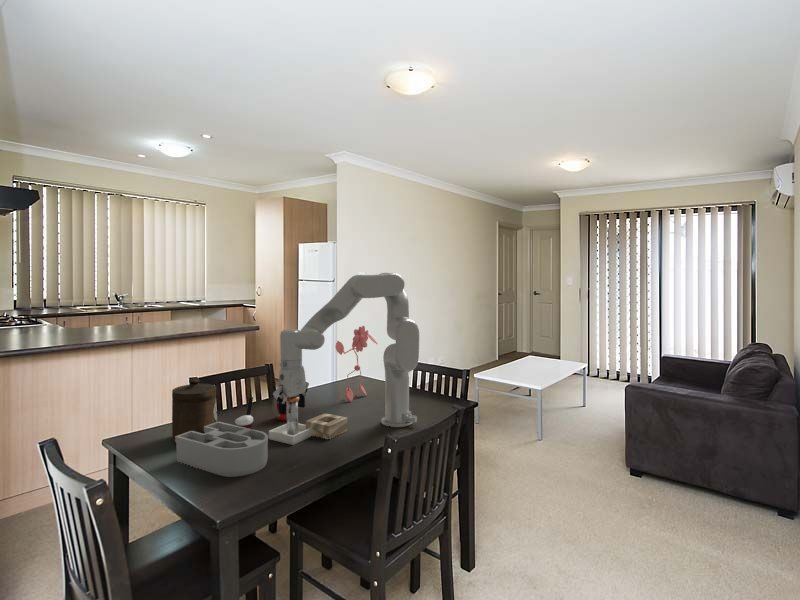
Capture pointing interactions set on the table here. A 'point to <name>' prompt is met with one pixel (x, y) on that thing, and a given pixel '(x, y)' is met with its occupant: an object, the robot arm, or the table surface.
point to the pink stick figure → (359, 342)
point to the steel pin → (292, 415)
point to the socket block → (327, 425)
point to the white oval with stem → (246, 417)
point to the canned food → (281, 416)
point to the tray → (282, 435)
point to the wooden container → (193, 407)
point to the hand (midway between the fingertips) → (292, 410)
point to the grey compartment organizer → (224, 449)
